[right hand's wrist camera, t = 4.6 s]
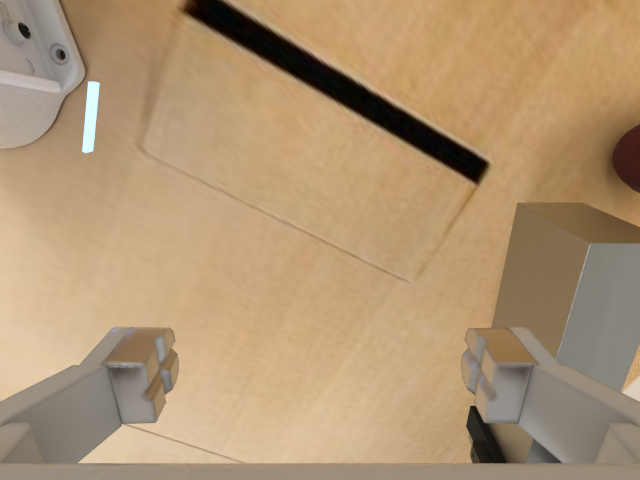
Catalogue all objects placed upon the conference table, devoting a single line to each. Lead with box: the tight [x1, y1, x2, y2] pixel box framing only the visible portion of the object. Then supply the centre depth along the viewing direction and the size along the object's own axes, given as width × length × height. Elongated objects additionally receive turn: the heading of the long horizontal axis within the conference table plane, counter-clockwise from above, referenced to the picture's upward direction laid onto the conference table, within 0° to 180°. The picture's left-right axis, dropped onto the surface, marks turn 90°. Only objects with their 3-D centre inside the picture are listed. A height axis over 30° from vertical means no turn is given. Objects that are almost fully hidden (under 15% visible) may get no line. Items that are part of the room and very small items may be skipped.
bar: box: [469, 203, 640, 464], centre depth 30 cm, size 25×5×8 cm, turn 0°
